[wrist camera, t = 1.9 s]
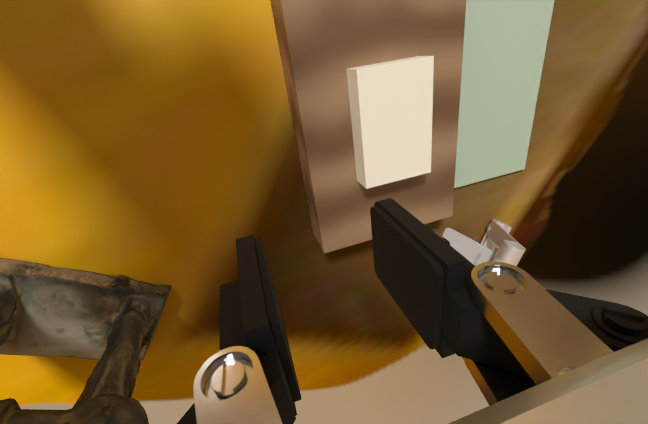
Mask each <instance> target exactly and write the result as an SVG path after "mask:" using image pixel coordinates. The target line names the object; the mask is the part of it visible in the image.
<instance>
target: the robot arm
mask: <svg viewBox="0 0 648 424" xmlns="http://www.w3.org/2000/svg"><path fill="white" fill-rule="evenodd" d="M370 216H371V229H372V242H373V255H374V267H375V272H376V274H377V277H378V278H379V280H380V281H381V282H382V284H383V285H384V286H385V288H386V289H387V291H388V292H389V293H390V295H391V296H392V298H393V299H394V300H395V302H396V303H397V304H398V306H399V307H400V309H401V310H402V311H403V313H404V314H405V315H406V317H407V318H408V320H409V321H410V322H411V324H412V325H413V327H414V328H415V329H416V331H417V332H418V333H419V335H420V336H421V338H422V339H423V340H424V342H425V343H426V345H427V346H428V347H429V348H430V349H436V350H437V352H438V353H439V354H440V356H441V357H442V358H444V357H447V356H450V355H452V354H455V353H456V354H457V355H458V356H461V357H463V360H464V362H465V364H466V366H467V368H468V370H469V371H470V373H471V375H472V376H473V378H474V380H475V382H476V383H477V385H478V387H479V388H480V390H481V392H482V393H483V395H484V397H485V399H486V401H487V402H488V404H489V406H488V407H486V408H484V409H481V410H479V411H477V412H474V413H472V414H470V415H468V416H465V417H463V418H461V419H458V420H456V421H454V422H452V423H450V424H648V316H647V315H645V314H643V313H642V312H640V311H638V310H635V309H633V308H630V307H628V306H624V305H621V304H617V303H613V302H608V301H602V300H597V299H592V298H587V297H582V296H577V295H572V294H566V293H561V292H556V291H551V290H546V289H544V288H543V287H542V286H541V285H540V284H539V283H537V282H536V281H535V280H534V279H533V278H532V277H531V276H530V275H529V274H528V273H526V272H525V271H523V270H522V269H520V268H518V267H516V266H514V265H512V264H508V263H504V262H495V261H492V262H484V263H481V264H478V265H477V266H475V265H473V264H472V263H471V262H470V261H469V260H467V259H466V258H465V257H464V256H463V255H461V254H460V253H459V252H458V251H456V250H455V249H454V248H453V247H452V246H450V245H449V244H448V243H447V242H445V241H444V240H443V239H442V238H440V237H439V236H438V235H437V234H435V233H434V232H433V231H432V230H430V229H429V228H428V227H427V226H426V225H424V224H423V223H422V222H421V221H419V220H418V219H417V218H416V217H414V216H413V215H412V214H411V213H409V212H408V211H407V210H406V209H404V208H403V207H402V206H401V205H400V204H398V203H397V202H396V201H395V200H393V199H392V198H388V199H384V200H380V201H377V202H375V203H374V207H371V208H370ZM236 247H237V260H238V272H239V280H237V281H233V282H230V283H227V284H223V285H221V286H220V351H219V352H217V353H215V354H214V355H212V356H211V357H210V358H209V359H208V360H207V361H206V362H205V363H204V364H203V365H202V366H201V368H200V369H199V371H198V372H197V375H196V377H195V380H194V384H193V395H194V404H193V405H192V406H191V408H190V409H189V410H188V411H187V412H186V413H185V415H184V416H183V417H182V418H181V419H180V421H179V422H178V423H177V424H293V423H294V421H295V420H296V417H295V416H296V415H297V413H296V408H295V403H294V402H296V401H298V400H301V394H300V390H299V386H298V382H297V378H296V373H295V369H294V365H293V361H292V356H291V352H290V348H289V344H288V340H287V335H286V331H285V327H284V323H283V319H282V314H281V310H280V306H279V302H278V298H277V295H276V291H275V288H274V284H273V281H272V277H271V274H270V270H269V266H268V263H267V259H266V256H265V252H264V249H263V245H262V241H261V238H260V237H259V238H256V239H254V237H253V235H250V236H246V237H243V238H239V239H236Z"/></svg>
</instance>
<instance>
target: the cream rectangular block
mask: <svg viewBox="0 0 648 424" xmlns="http://www.w3.org/2000/svg"><path fill="white" fill-rule="evenodd" d="M346 70H347V80H348V91H349V101H350V112H351V122H352V133H353V143H354V153H355V164H356V174H357V181H358V182H359V183H360V184H361V185H362V186H364V187H365V188H366V189H368V188H372V187H376V186H380V185H383V184H387V183H391V182H395V181H399V180H403V179H407V178H410V177H414V176H418V175H422V174H426V173H430V172H431V151H432V111H433V72H434V56H416V57H411V58H405V59H400V60H394V61H388V62H383V63H377V64H371V65H366V66H360V67H354V68H349V69H346Z"/></svg>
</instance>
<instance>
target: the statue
mask: <svg viewBox="0 0 648 424" xmlns="http://www.w3.org/2000/svg"><path fill="white" fill-rule="evenodd" d="M170 289H171V286H154V285H151V284H147V283H143V282H139V281H135V280H131V279H128V278H126V277H125V276H123V275H118V276H117V277H114V276H107V275H102V274H98V273H93V272H87V271H79V270H72V269H64V268H55V267H48V266H46V265H43V264H37V263H31V262H25V261H18V260H11V259H3V258H0V354H8V355H29V356H62V357H75V358H84V359H96V360H99V362H98V364H97V365H96V366H95V368H94V370H93V373H92V375H91V376H90V377H89V379H88V380H87V383H86V386H85V388H84V391H83V392H82V394H81V396H80V397H79V399H78V400H77V402H76V403H75V405H74V407H73V408H72V409H69V410H29V409H20V407H19V405H18V403H17V402H16V400H15V399H11V398H10V399H5V400H0V424H148V418H147V414H146V412H145V410H144V408H143V407H142V406H141V404H140V403H139V401H137V400H135V399H133V398H131V396H132V392H133V389H134V386H135V380H136V376H137V374H138V372H139V368H140V363H141V361H140V360H143V359H144V357H145V354H146V352H147V350H148V348H149V345H150V343H151V341H152V338H153V335H154V333H155V330H156V327H157V324H158V321H159V319H160V316H161V312H162V309H163V307H164V304H165V302H166V300H167V296H168V295H169V292H170Z"/></svg>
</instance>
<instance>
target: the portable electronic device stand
mask: <svg viewBox="0 0 648 424" xmlns="http://www.w3.org/2000/svg"><path fill="white" fill-rule="evenodd" d="M510 230H511V227H510V226H508V225H507V224H505V223H503V222H501V221H498V220H495V219H492V221H491V223H490V224H489V225H488V227H487V229H486V232H485V234H484V236H483V238H482V240H481V242H480V244H479V243H477V242H476V241H474V240H472V239H470V238H468V237H466V236H464V235H462V234H461V233H459V232H457V231H455V230H453V229H451V228H446V229H445V231H444V233H443V235H442V236H443V237H444V238H445V239H447V240H448V241H449V242H450V246H452V247H453V248H454V249H455V250H456V251H458V252H459V253H460V254H461V255H463V256H464V257H465V258H466V259H467V260H469V261H470V262H471V263H472V264H473V265H475V266H477V265H478V264H481V263H484V262H492V261H495V262H504V263H508V264H512V265H514V266H516V265H517V264H518V262H519V260H520V258H521V257H522V255H523V253H524V252H525V250H526V249H525V248H524V247H523V246H522V245H521V244H520V243H519V242H517V241H516V240H515V239H514V238H513V237H512V236H511V235H510V234H509V232H510ZM495 247H496V248H498V251H497V253H496V252H494V249H495Z"/></svg>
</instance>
